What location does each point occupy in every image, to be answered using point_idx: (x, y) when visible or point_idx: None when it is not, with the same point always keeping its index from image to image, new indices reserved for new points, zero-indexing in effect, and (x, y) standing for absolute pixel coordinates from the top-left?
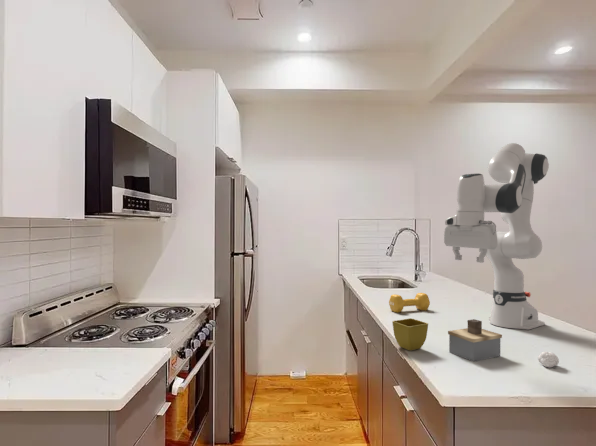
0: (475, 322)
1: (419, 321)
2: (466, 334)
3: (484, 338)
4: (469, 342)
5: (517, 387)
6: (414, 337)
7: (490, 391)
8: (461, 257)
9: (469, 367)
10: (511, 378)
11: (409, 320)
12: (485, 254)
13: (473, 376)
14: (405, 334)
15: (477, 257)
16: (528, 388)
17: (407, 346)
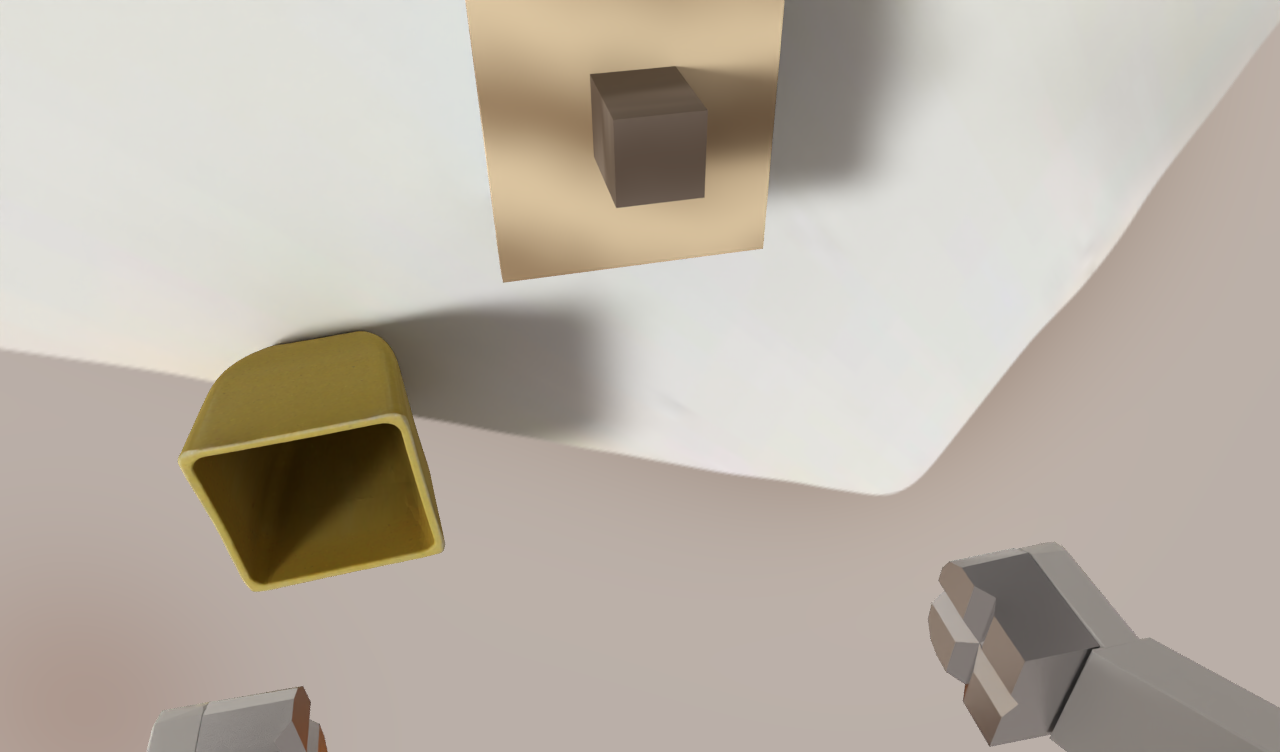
0: (704, 190)
1: (302, 437)
2: (643, 211)
3: (770, 135)
4: None
5: (1051, 224)
6: (423, 454)
7: (993, 353)
8: (277, 747)
9: (766, 256)
10: (985, 164)
11: (196, 461)
12: (1247, 704)
13: (858, 316)
14: (398, 509)
15: (1008, 728)
16: (1089, 186)
17: (392, 437)
